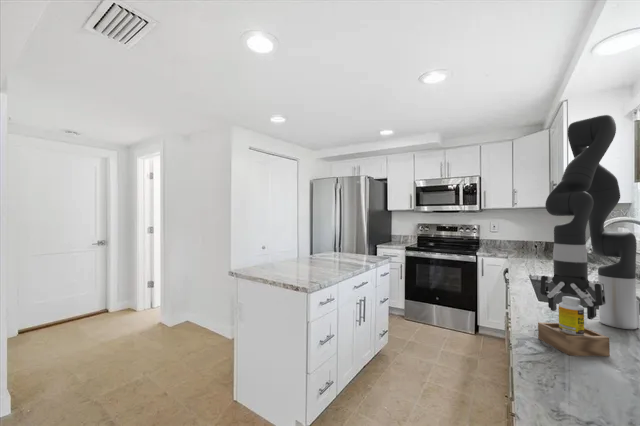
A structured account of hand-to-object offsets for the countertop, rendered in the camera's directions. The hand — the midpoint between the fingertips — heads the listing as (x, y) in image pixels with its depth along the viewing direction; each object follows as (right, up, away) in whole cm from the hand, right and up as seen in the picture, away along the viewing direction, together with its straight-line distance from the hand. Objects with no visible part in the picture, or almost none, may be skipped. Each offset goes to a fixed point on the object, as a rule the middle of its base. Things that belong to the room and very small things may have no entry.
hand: (571, 314), depth 82 cm
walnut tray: (0, -9, 0) cm, 9 cm away
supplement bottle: (0, -6, 0) cm, 6 cm away
